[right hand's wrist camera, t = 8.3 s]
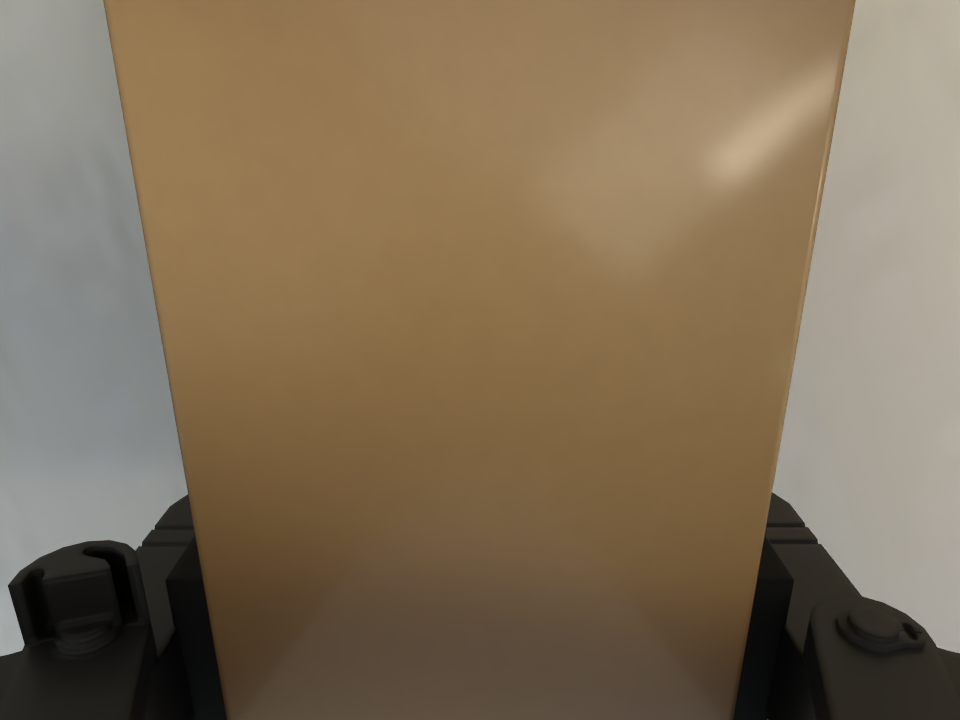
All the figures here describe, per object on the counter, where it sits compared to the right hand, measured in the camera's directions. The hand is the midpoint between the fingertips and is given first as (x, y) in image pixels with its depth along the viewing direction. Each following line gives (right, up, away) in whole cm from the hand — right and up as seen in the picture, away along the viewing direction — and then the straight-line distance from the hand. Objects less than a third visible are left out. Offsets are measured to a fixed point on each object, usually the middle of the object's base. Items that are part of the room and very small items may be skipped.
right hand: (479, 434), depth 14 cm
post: (0, +25, -9) cm, 26 cm away
